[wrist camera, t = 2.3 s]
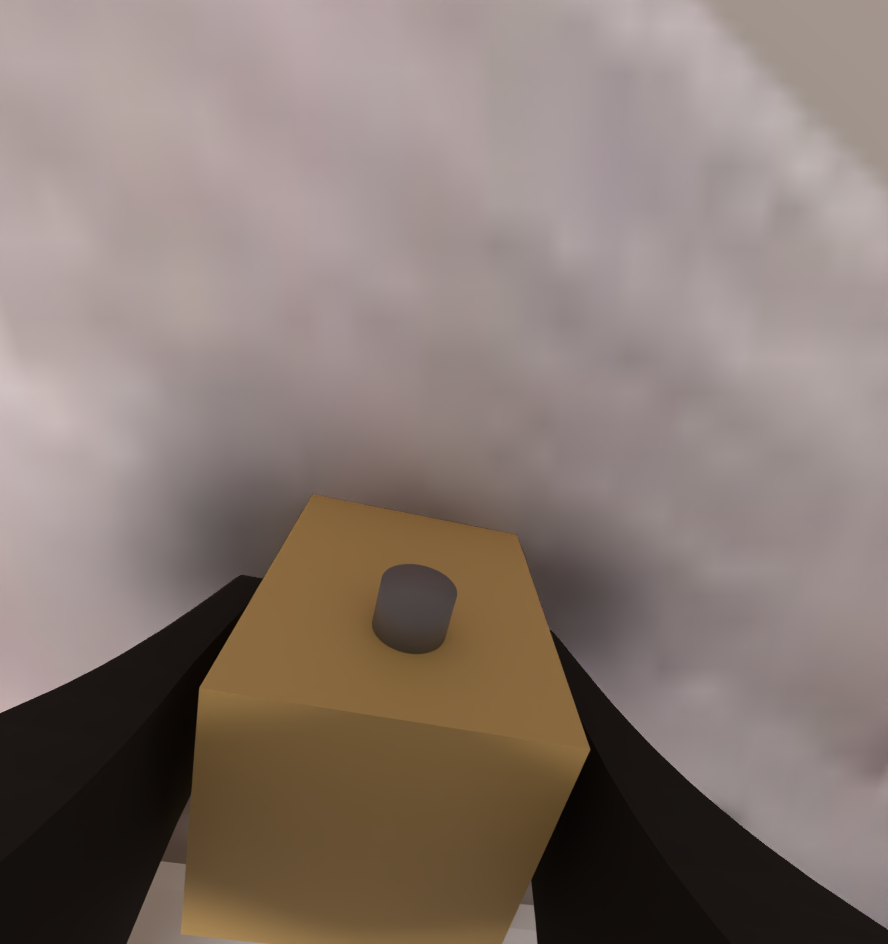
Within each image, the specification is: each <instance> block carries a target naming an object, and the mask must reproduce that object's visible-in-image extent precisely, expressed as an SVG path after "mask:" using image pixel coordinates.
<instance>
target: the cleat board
mask: <svg viewBox="0 0 888 944" xmlns="http://www.w3.org/2000/svg"><path fill="white" fill-rule="evenodd" d="M190 804H191V796H190V798H189V800H188V802H187V804H186V806H185V808H184V810H183V812H182V814H181V816H180V818H179V821H178V823H177V825H176V827H175V830H174V832H173V834H172V837H171V839H170V841H169V844H168V846H167V848H166V851H165V853H164V855H163V858H162V860H161V862H160V865H159V867H158V869H157V872H156V874H155V877H154V879H153V881H152V884H151V886H150V889H149V891H148V893H147V896H146V898H145V901H144V903H143V905H142V908H141V910H140V913H139V915H138V918H137V920H136V922H135V925H134V927H133V930H132V932H131V935H130V937H129V939H128V942H127V944H266V943H257V942H248V941H238V940H229V939H220V938H211V937H201V936H192V935H183V934H181V924H182V911H183V897H184V884H185V871H186V857H187V844H188V831H189V817H190ZM502 944H537V934H536V923H535V913H534V903H533V894H532V884H531V881H530V884H529V886H528V888H527V890H526V892H525V895H524V897H523V899H522V901H521V904H520V906H519V908H518V910H517V912H516V915H515V917H514V919H513V921H512V923H511V926H510V928H509V930H508V932H507V934H506V937H505V939H504V941H503V943H502Z"/></svg>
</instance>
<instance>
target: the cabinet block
mask: <svg viewBox="0 0 888 944" xmlns="http://www.w3.org/2000/svg"><path fill="white" fill-rule="evenodd" d="M589 752H590V747H589V744H588V741H587V738H586V735H585V732H584V730H583V727H582V724H581V721H580V718H579V715H578V712H577V709H576V706H575V703H574V700H573V697H572V694H571V691H570V689H569V686H568V683H567V680H566V677H565V674H564V671H563V668H562V665H561V662H560V659H559V656H558V653H557V651H556V648H555V645H554V642H553V639H552V636H551V633H550V630H549V627H548V624H547V621H546V618H545V615H544V613H543V610H542V607H541V604H540V601H539V598H538V595H537V592H536V589H535V586H534V583H533V580H532V577H531V575H530V572H529V569H528V566H527V563H526V560H525V557H524V554H523V551H522V548H521V545H520V542H519V539H518V537H517V535H515V534H510V533H505V532H500V531H495V530H490V529H485V528H480V527H475V526H470V525H465V524H460V523H455V522H450V521H445V520H440V519H435V518H430V517H425V516H420V515H415V514H410V513H405V512H400V511H395V510H390V509H385V508H380V507H375V506H370V505H365V504H360V503H355V502H350V501H345V500H340V499H335V498H330V497H325V496H320V495H315V494H313V495H312V496H311V498H310V500H309V501H308V503H307V505H306V507H305V508H304V510H303V512H302V513H301V515H300V517H299V518H298V520H297V522H296V524H295V525H294V527H293V529H292V530H291V532H290V534H289V536H288V537H287V539H286V541H285V542H284V544H283V546H282V548H281V549H280V551H279V553H278V554H277V556H276V558H275V559H274V561H273V563H272V565H271V566H270V568H269V570H268V571H267V573H266V575H265V577H264V578H263V580H262V582H261V583H260V585H259V587H258V588H257V590H256V592H255V594H254V595H253V597H252V599H251V600H250V602H249V604H248V606H247V607H246V609H245V611H244V612H243V614H242V616H241V618H240V619H239V621H238V623H237V624H236V626H235V628H234V629H233V631H232V633H231V635H230V636H229V638H228V640H227V641H226V643H225V645H224V647H223V648H222V650H221V652H220V653H219V655H218V657H217V659H216V660H215V662H214V664H213V665H212V667H211V669H210V670H209V672H208V674H207V676H206V677H205V679H204V681H203V682H202V684H201V686H200V688H199V698H198V711H197V724H196V738H195V751H194V764H193V778H192V791H191V804H190V817H189V831H188V844H187V857H186V871H185V884H184V897H183V911H182V924H181V934H183V935H192V936H201V937H211V938H220V939H229V940H238V941H248V942H257V943H266V944H502V943H503V941H504V939H505V937H506V934H507V932H508V930H509V928H510V926H511V923H512V921H513V919H514V917H515V915H516V912H517V910H518V908H519V906H520V904H521V901H522V899H523V897H524V895H525V892H526V890H527V888H528V886H529V884H530V881H531V879H532V877H533V875H534V873H535V870H536V868H537V866H538V864H539V862H540V859H541V857H542V855H543V853H544V851H545V848H546V846H547V844H548V842H549V840H550V837H551V835H552V833H553V831H554V829H555V826H556V824H557V822H558V820H559V818H560V815H561V813H562V811H563V809H564V807H565V804H566V802H567V800H568V798H569V796H570V793H571V791H572V789H573V787H574V785H575V782H576V780H577V778H578V776H579V774H580V771H581V769H582V767H583V765H584V763H585V760H586V758H587V756H588V754H589Z"/></svg>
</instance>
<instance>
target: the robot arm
mask: <svg viewBox="0 0 888 944" xmlns="http://www.w3.org/2000/svg"><path fill="white" fill-rule="evenodd" d="M262 580H263V579H262V578H256V577H251V576H245V575H240V576H239V577H237V578H235V579H234V580H232V581H231V582H230V583H228V584H227V585H226V586H224V587H223V588H221V589H220V590H219V591H217V592H216V593H214V594H213V595H212V596H210V597H209V598H208V599H206V600H205V601H203V602H202V603H200V604H199V605H198V606H196V607H195V608H193V609H192V610H190V611H189V612H187V613H186V614H185V615H183V616H182V617H180V618H179V619H177V620H176V621H174V622H173V623H171V624H170V625H168V626H167V627H165V628H164V629H162V630H161V631H159V632H157V633H156V634H154V635H152V636H151V637H149V638H148V639H146V640H144V641H143V642H141V643H139V644H138V645H136V646H134V647H133V648H131V649H130V650H128V651H126V652H125V653H123V654H121V655H119V656H118V657H116V658H114V659H112V660H111V661H109V662H107V663H105V664H103V665H102V666H100V667H98V668H96V669H94V670H92V671H90V672H88V673H86V674H84V675H82V676H80V677H78V678H76V679H74V680H73V681H71V682H69V683H67V684H64V685H62V686H60V687H58V688H56V689H54V690H52V691H49V692H47V693H45V694H43V695H40V696H38V697H36V698H34V699H31V700H29V701H27V702H25V703H22V704H20V705H18V706H16V707H13V708H11V709H9V710H7V711H4V712H2V713H0V944H127V942H128V939H129V937H130V935H131V932H132V930H133V927H134V925H135V922H136V920H137V918H138V915H139V913H140V910H141V908H142V905H143V903H144V901H145V898H146V896H147V893H148V891H149V889H150V886H151V884H152V881H153V879H154V877H155V874H156V872H157V869H158V867H159V865H160V862H161V860H162V858H163V855H164V853H165V851H166V848H167V846H168V844H169V841H170V839H171V837H172V834H173V832H174V830H175V827H176V825H177V823H178V821H179V818H180V816H181V814H182V812H183V810H184V808H185V806H186V804H187V802H188V800H189V798H190V796H191V791H192V778H193V764H194V751H195V738H196V724H197V711H198V698H199V688H200V686H201V684H202V682H203V681H204V679H205V677H206V676H207V674H208V672H209V670H210V669H211V667H212V665H213V664H214V662H215V660H216V659H217V657H218V655H219V653H220V652H221V650H222V648H223V647H224V645H225V643H226V641H227V640H228V638H229V636H230V635H231V633H232V631H233V629H234V628H235V626H236V624H237V623H238V621H239V619H240V618H241V616H242V614H243V612H244V611H245V609H246V607H247V606H248V604H249V602H250V600H251V599H252V597H253V595H254V594H255V592H256V590H257V588H258V587H259V585H260V583H261V582H262ZM550 633H551V636H552V639H553V642H554V645H555V648H556V651H557V653H558V656H559V659H560V662H561V665H562V668H563V671H564V674H565V677H566V680H567V683H568V686H569V689H570V691H571V694H572V697H573V700H574V703H575V706H576V709H577V712H578V715H579V718H580V721H581V724H582V727H583V730H584V732H585V735H586V738H587V741H588V744H589V747H590V752H589V754H588V756H587V758H586V760H585V763H584V765H583V767H582V769H581V771H580V774H579V776H578V778H577V780H576V782H575V785H574V787H573V789H572V791H571V793H570V796H569V798H568V800H567V802H566V804H565V807H564V809H563V811H562V813H561V815H560V818H559V820H558V822H557V824H556V826H555V829H554V831H553V833H552V835H551V837H550V840H549V842H548V844H547V846H546V848H545V851H544V853H543V855H542V857H541V859H540V862H539V864H538V866H537V868H536V870H535V873H534V875H533V877H532V879H531V884H532V894H533V903H534V913H535V923H536V934H537V944H888V930H887V929H886V928H884V927H883V926H881V925H880V924H878V923H877V922H875V921H874V920H872V919H871V918H869V917H868V916H866V915H865V914H863V913H862V912H860V911H859V910H857V909H856V908H854V907H853V906H851V905H850V904H848V903H847V902H845V901H844V900H842V899H841V898H839V897H838V896H836V895H835V894H833V893H832V892H830V891H829V890H827V889H826V888H824V887H823V886H821V885H820V884H818V883H817V882H815V881H814V880H813V879H811V878H810V877H808V876H807V875H806V874H804V873H803V872H802V871H800V870H799V869H797V868H796V867H795V866H793V865H792V864H791V863H789V862H788V861H787V860H785V859H784V858H783V857H781V856H780V855H778V854H777V853H776V852H774V851H773V850H772V849H770V848H769V847H768V846H766V845H765V844H764V843H762V842H761V841H760V840H759V839H757V838H756V837H755V836H753V835H752V834H751V833H750V832H748V831H747V830H746V829H744V828H743V827H742V826H741V825H739V824H738V823H737V822H736V821H735V820H733V819H732V818H731V817H730V816H729V815H727V814H726V813H725V812H724V811H723V810H721V809H720V808H719V807H718V806H717V805H715V804H714V803H713V802H712V801H711V800H709V799H708V798H707V797H706V796H705V795H704V794H703V793H701V792H700V791H699V790H698V789H697V788H696V787H695V786H693V785H692V784H691V783H690V782H689V781H688V780H687V779H686V778H685V777H684V776H683V775H681V774H680V773H679V772H678V771H677V770H676V769H675V768H674V767H673V766H672V765H671V764H670V763H669V762H668V761H667V760H666V759H665V758H663V757H662V756H661V755H660V754H659V753H658V752H657V751H656V750H655V749H654V748H653V747H652V746H651V745H650V744H649V743H648V742H647V741H646V740H645V739H644V737H643V736H642V735H641V734H640V733H639V732H638V731H637V730H636V729H635V728H634V727H633V726H632V725H631V724H630V722H629V721H628V720H627V719H626V718H625V717H624V716H623V715H622V714H621V713H620V712H619V710H618V709H617V708H616V707H615V706H614V705H613V704H612V703H611V701H610V700H609V699H608V698H607V697H606V696H605V694H604V693H603V692H602V691H601V690H600V688H599V687H598V686H597V685H596V684H595V683H594V681H593V680H592V679H591V678H590V676H589V675H588V674H587V673H586V672H585V670H584V669H583V668H582V667H581V665H580V664H579V663H578V662H577V661H576V659H575V658H574V657H573V656H572V654H571V653H570V652H569V651H568V649H567V648H566V647H565V646H564V645H563V643H562V642H561V641H560V640H559V639H558V637H557V636H556V635H555V634H554V633H553V632H552V631H551V630H550Z"/></svg>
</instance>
